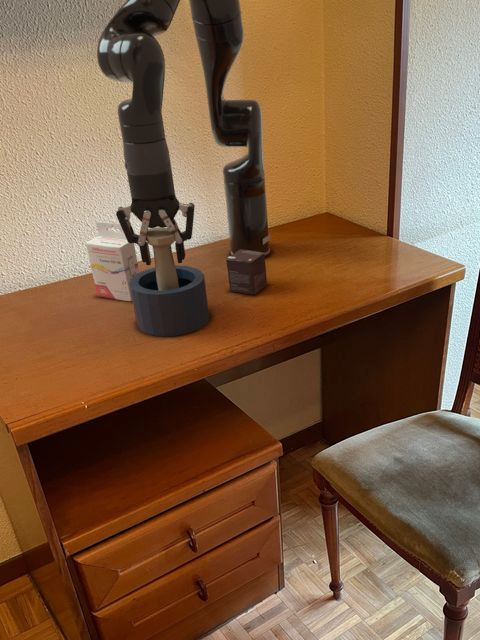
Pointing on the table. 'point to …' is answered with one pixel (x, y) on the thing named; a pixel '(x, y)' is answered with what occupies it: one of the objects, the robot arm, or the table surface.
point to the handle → (163, 257)
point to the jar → (170, 302)
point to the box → (246, 271)
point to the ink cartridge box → (112, 262)
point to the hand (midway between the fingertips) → (164, 262)
